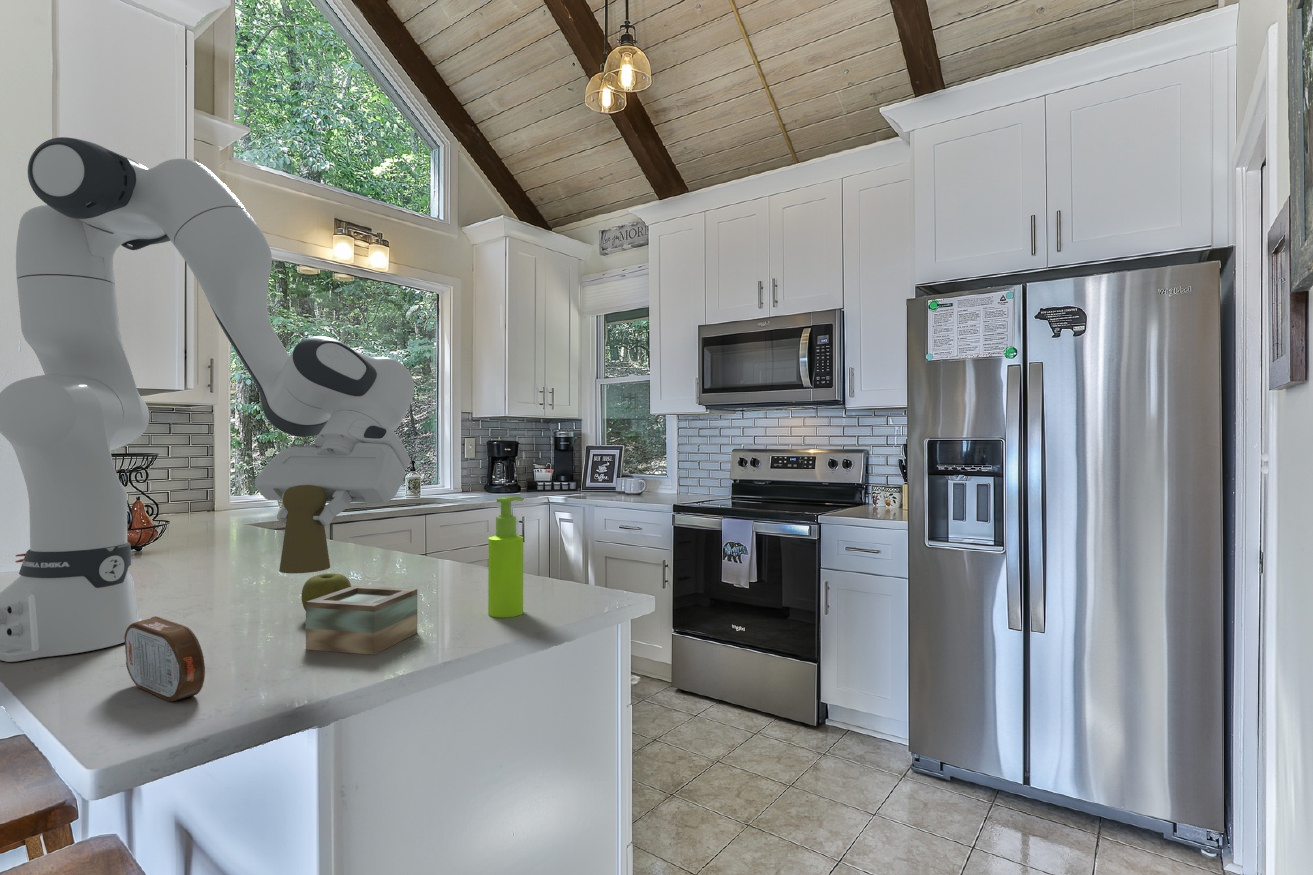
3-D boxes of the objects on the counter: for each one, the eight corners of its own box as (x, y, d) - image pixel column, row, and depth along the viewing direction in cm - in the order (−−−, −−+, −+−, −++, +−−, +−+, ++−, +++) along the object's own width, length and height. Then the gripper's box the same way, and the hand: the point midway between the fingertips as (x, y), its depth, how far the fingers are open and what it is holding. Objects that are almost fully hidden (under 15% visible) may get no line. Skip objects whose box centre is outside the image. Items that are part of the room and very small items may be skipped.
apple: (301, 626, 111) (301, 582, 111) (301, 615, 118) (301, 573, 118) (353, 621, 114) (353, 577, 114) (349, 610, 122) (349, 569, 121)
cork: (315, 573, 88) (315, 487, 88) (269, 573, 88) (269, 487, 88) (339, 564, 94) (339, 483, 94) (295, 564, 94) (295, 483, 94)
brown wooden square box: (305, 649, 99) (305, 601, 99) (354, 628, 110) (354, 585, 110) (374, 654, 97) (374, 606, 97) (417, 632, 108) (417, 588, 108)
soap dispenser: (533, 609, 122) (533, 496, 122) (509, 619, 116) (509, 499, 116) (506, 606, 124) (506, 494, 124) (481, 615, 118) (481, 498, 118)
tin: (207, 701, 80) (207, 628, 80) (177, 710, 77) (177, 635, 77) (148, 677, 88) (148, 610, 88) (119, 684, 85) (119, 616, 85)
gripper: (276, 430, 100) (220, 504, 91) (403, 430, 96) (358, 508, 86) (299, 460, 105) (247, 533, 95) (421, 461, 100) (380, 539, 91)
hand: (301, 522), depth 91 cm, fingers closed on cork, 4 cm apart
